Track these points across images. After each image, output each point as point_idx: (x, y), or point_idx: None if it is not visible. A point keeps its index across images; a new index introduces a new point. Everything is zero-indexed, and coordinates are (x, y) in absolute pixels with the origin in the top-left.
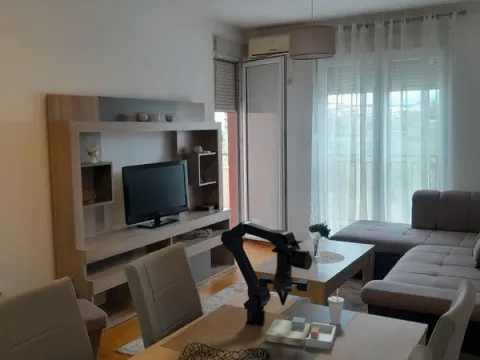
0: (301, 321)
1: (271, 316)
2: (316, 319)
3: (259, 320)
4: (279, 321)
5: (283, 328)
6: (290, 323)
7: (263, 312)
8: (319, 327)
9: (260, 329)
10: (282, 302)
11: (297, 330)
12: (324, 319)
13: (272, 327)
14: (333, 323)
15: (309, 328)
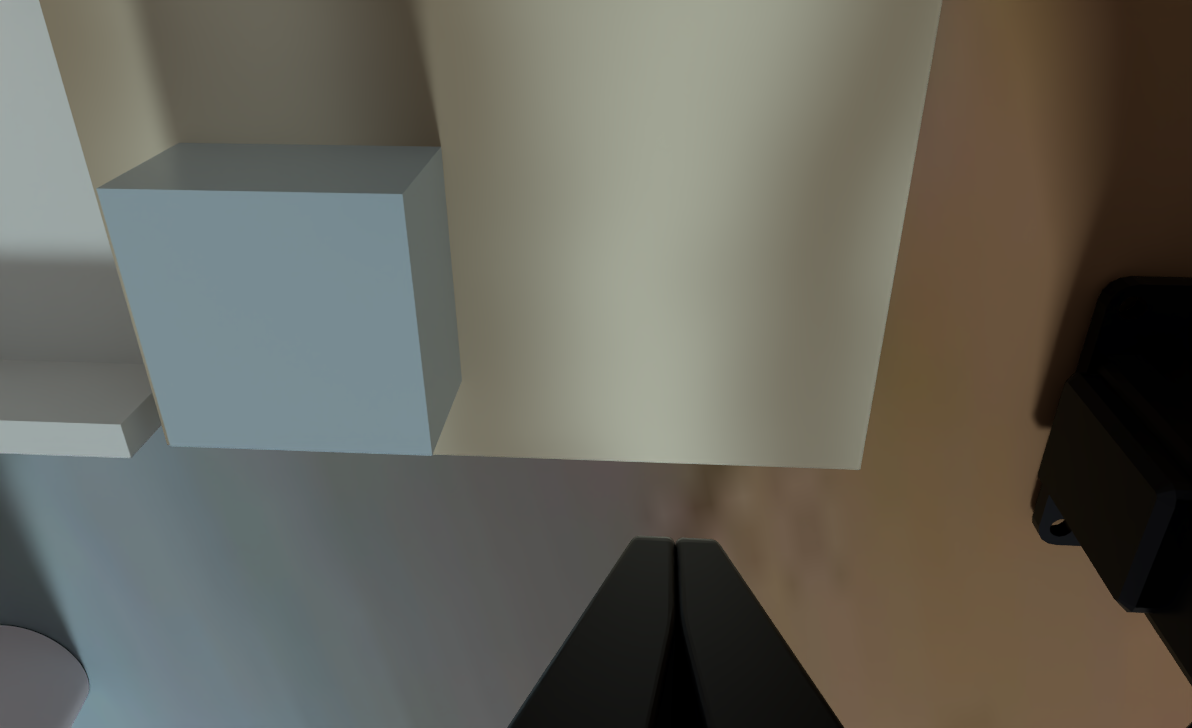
0: (176, 248)
1: (932, 665)
2: (285, 703)
3: (1182, 377)
4: (759, 377)
5: (603, 40)
6: (521, 343)
7: (1176, 518)
8: (24, 387)
9: (1116, 140)
10: (691, 601)
11: (269, 30)
12: (191, 722)
13: (875, 10)
14: (15, 634)
15: None
